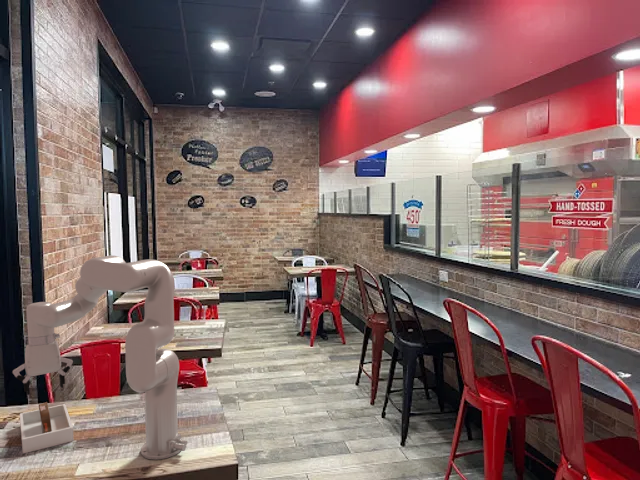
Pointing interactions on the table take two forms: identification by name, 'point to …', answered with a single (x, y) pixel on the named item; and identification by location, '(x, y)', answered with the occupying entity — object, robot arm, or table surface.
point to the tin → (45, 418)
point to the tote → (39, 440)
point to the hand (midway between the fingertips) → (45, 389)
